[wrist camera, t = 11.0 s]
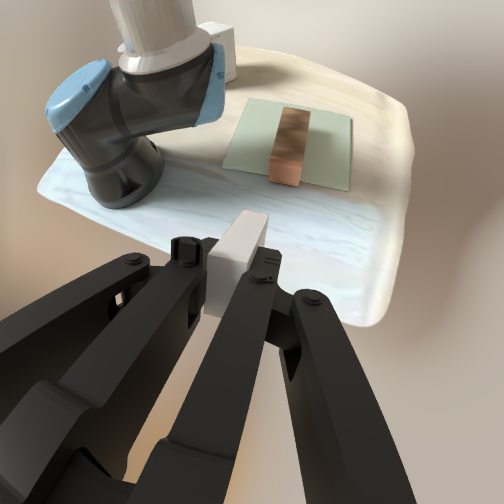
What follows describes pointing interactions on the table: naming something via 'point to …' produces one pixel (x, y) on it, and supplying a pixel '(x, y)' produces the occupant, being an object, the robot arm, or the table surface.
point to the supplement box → (226, 38)
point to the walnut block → (289, 147)
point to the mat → (316, 151)
